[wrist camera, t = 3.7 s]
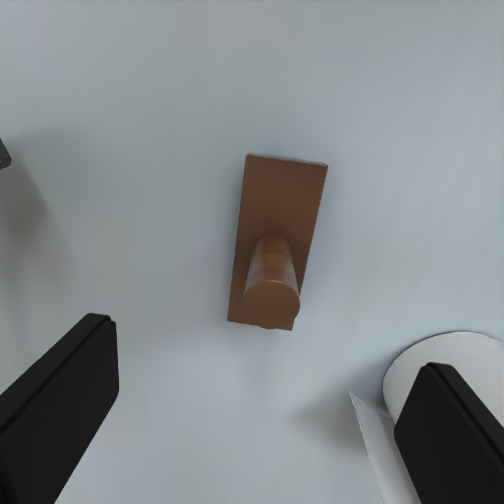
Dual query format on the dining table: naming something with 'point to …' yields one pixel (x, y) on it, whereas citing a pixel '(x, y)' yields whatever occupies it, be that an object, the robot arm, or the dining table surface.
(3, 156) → the tankard
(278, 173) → the brush
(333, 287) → the dining table surface
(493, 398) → the toilet tissue
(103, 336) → the robot arm
